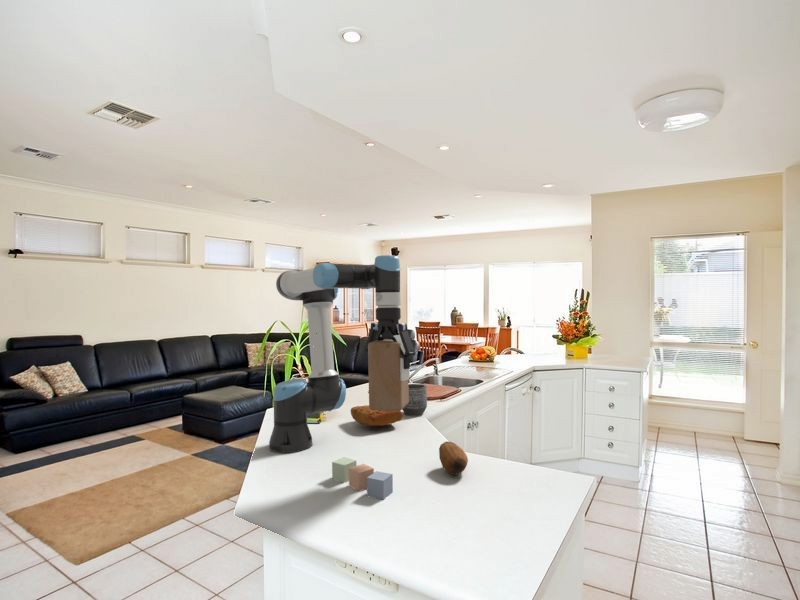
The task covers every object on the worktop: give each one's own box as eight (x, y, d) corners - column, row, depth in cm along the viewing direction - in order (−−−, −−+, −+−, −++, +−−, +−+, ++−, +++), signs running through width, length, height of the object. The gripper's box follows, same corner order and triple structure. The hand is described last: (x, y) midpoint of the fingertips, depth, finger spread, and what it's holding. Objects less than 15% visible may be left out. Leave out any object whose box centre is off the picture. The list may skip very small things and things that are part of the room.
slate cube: (367, 496, 118) (366, 477, 118) (376, 489, 122) (376, 471, 122) (383, 500, 115) (383, 480, 115) (392, 492, 120) (392, 474, 120)
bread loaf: (405, 429, 181) (405, 409, 181) (366, 435, 173) (366, 414, 173) (383, 417, 201) (383, 399, 201) (347, 422, 193) (347, 403, 193)
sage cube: (332, 479, 130) (332, 461, 130) (344, 473, 134) (343, 457, 134) (344, 483, 127) (344, 465, 127) (356, 477, 131) (356, 460, 131)
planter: (427, 416, 199) (427, 388, 199) (400, 417, 199) (400, 388, 200) (426, 410, 211) (426, 383, 212) (400, 410, 212) (400, 383, 212)
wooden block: (400, 412, 128) (399, 342, 128) (368, 410, 130) (366, 342, 130) (409, 404, 137) (408, 339, 137) (379, 402, 140) (377, 339, 140)
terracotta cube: (349, 485, 125) (348, 467, 125) (363, 481, 128) (363, 463, 128) (358, 491, 121) (358, 472, 121) (373, 486, 124) (373, 468, 124)
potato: (463, 488, 129) (442, 477, 126) (448, 462, 142) (429, 451, 139) (478, 468, 128) (458, 456, 126) (462, 443, 141) (443, 432, 139)
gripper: (352, 307, 141) (353, 374, 140) (407, 306, 122) (409, 384, 122) (371, 306, 146) (372, 371, 145) (426, 306, 128) (427, 380, 127)
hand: (389, 377), depth 134 cm, fingers closed on wooden block, 13 cm apart
